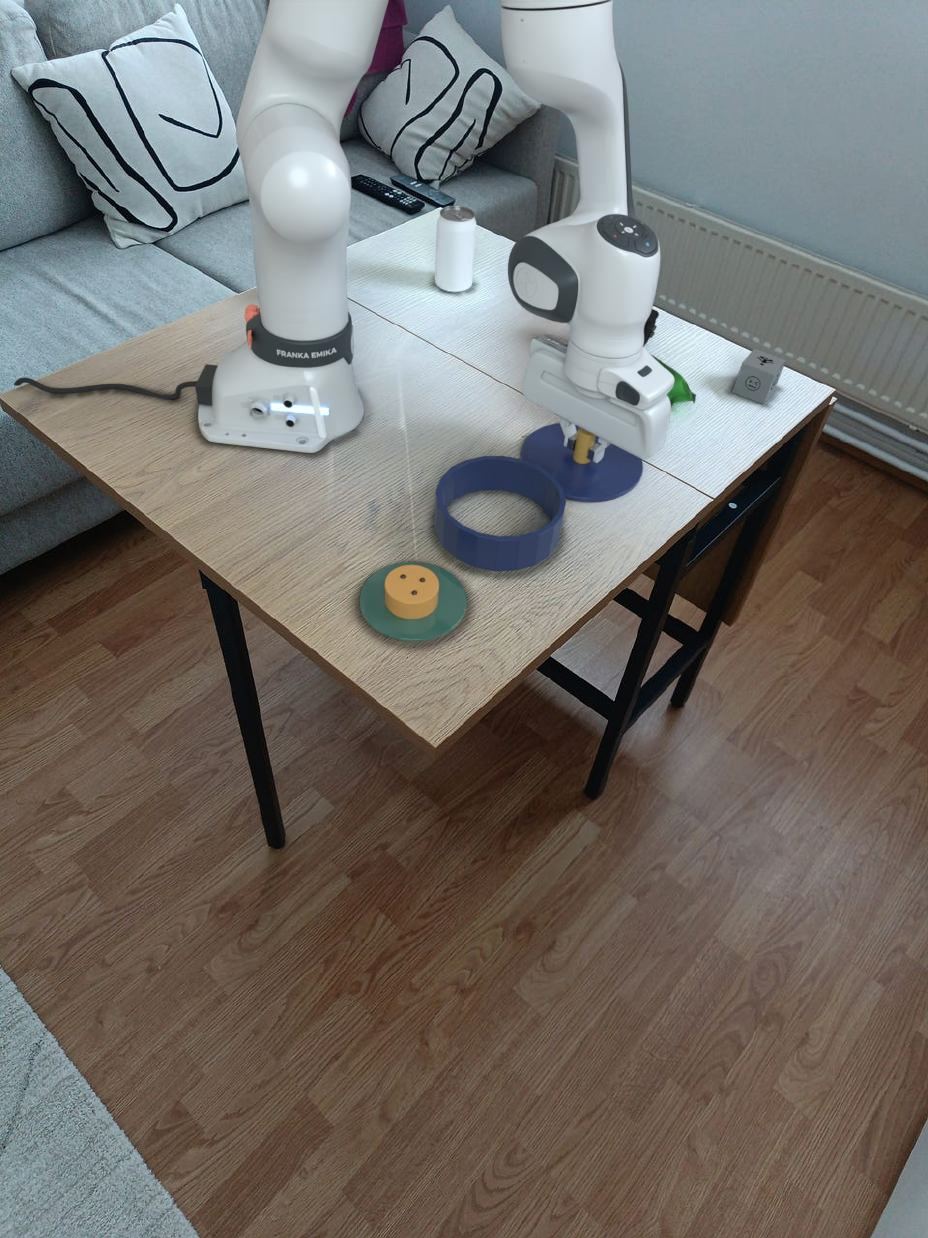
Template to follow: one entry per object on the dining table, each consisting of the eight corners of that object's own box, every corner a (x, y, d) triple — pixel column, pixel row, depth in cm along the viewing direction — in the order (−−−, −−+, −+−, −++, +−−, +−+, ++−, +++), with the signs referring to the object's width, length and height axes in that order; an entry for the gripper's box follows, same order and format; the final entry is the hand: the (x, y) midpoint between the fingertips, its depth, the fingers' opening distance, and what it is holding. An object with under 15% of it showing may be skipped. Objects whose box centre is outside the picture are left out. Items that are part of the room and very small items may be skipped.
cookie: (385, 620, 96) (385, 602, 94) (383, 581, 100) (383, 563, 98) (440, 618, 96) (441, 601, 94) (436, 580, 100) (437, 562, 98)
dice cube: (775, 389, 133) (786, 360, 129) (763, 404, 130) (774, 374, 126) (744, 377, 135) (754, 348, 131) (732, 392, 132) (742, 362, 128)
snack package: (658, 429, 124) (667, 398, 120) (587, 375, 132) (593, 344, 128) (693, 415, 127) (703, 384, 123) (621, 363, 135) (628, 332, 131)
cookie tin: (439, 576, 102) (441, 541, 98) (430, 490, 112) (431, 456, 108) (568, 572, 103) (575, 538, 99) (548, 489, 114) (554, 454, 110)
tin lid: (528, 506, 111) (534, 470, 107) (512, 429, 122) (516, 394, 118) (653, 504, 113) (664, 469, 108) (626, 428, 124) (635, 394, 119)
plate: (360, 646, 94) (360, 641, 93) (359, 567, 102) (359, 562, 101) (471, 642, 95) (471, 637, 95) (461, 565, 103) (461, 560, 103)
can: (456, 271, 152) (460, 200, 143) (480, 286, 149) (485, 215, 140) (426, 281, 149) (428, 210, 140) (450, 297, 146) (454, 225, 137)
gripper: (518, 337, 108) (507, 429, 118) (659, 405, 100) (634, 498, 110) (548, 318, 111) (534, 410, 121) (687, 383, 103) (660, 475, 113)
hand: (583, 452), depth 116 cm, fingers closed on tin lid, 2 cm apart
